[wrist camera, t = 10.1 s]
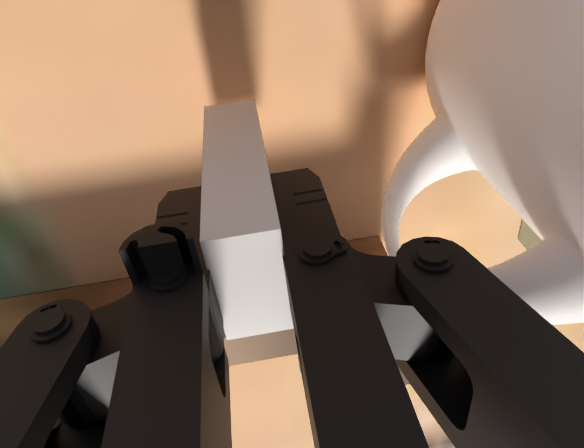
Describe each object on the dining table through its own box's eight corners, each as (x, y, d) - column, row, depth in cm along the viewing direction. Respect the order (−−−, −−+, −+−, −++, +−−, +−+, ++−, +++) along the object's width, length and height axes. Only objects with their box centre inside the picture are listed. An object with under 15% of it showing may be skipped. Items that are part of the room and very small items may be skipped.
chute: (-94, 343, 20) (-195, 493, 15) (-484, -87, 11) (-1059, -61, 6) (378, 263, 20) (429, 380, 16) (379, -197, 12) (498, -255, 7)
